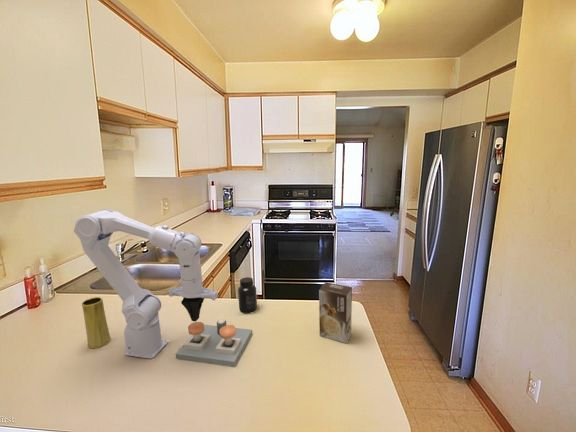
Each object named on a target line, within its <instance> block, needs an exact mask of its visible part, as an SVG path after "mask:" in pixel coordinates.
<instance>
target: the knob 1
mask: <svg viewBox="0 0 576 432" xmlns="http://www.w3.org/2000/svg"><path fill="white" fill-rule="evenodd" d="M204 325H205V323H204V322H202V321H193V322H191V323H190V324H189V325H188V326H187V332H188V334H189V335H190V336H191V335H193V340H194V341H195V342H197V341H200V340H201V333H202V332H203V331H204Z"/></svg>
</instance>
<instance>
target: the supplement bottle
mask: <svg viewBox="0 0 576 432" xmlns="http://www.w3.org/2000/svg"><path fill="white" fill-rule="evenodd" d="M257 294H258V293H257V287H256V286H255V284H254V279H253V278H252V277H249V276H248V277H243V278H242V277H241V278H240V280H239V287H238V289H237V296H238V299H237V300H238V309H239V312H240V313H242V314H246V315H247V314H252V313H255V312H256V311H257V310H258V295H257Z"/></svg>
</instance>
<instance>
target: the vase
mask: <svg viewBox="0 0 576 432" xmlns="http://www.w3.org/2000/svg"><path fill="white" fill-rule="evenodd" d="M81 306H82V311H83V318H84V325H85V332H86V338H87V339H86V340H87V348H90V349H98V348H102V347H104V346H105V345H107V344H108V343H109V342H110V341H111V336H110V332H109V327H108V323H107V316H106V311H105V307H104V301H103V297H99V296H95V297H90V298H87V299H85V300H84V301H82V303H81Z"/></svg>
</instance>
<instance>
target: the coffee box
mask: <svg viewBox="0 0 576 432" xmlns="http://www.w3.org/2000/svg"><path fill="white" fill-rule="evenodd" d="M352 298H353V287H351V286H347V285H342V284H337V283H336V284H335V283H332V282H324V283H323V285H322V286H320V289H318V299H319V300H318V304H319V305H318V311H319V313H318V314H319V318H318V320H319V337H322V338H324V339H325V338H326V339H329V340H333V341H336V342H340V343H342V344H343V343H344V344H348V341H349V340H350V338H351V335H352V310H353V309H352V307H353V305H352V303H353V301H352V300H353V299H352Z"/></svg>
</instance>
